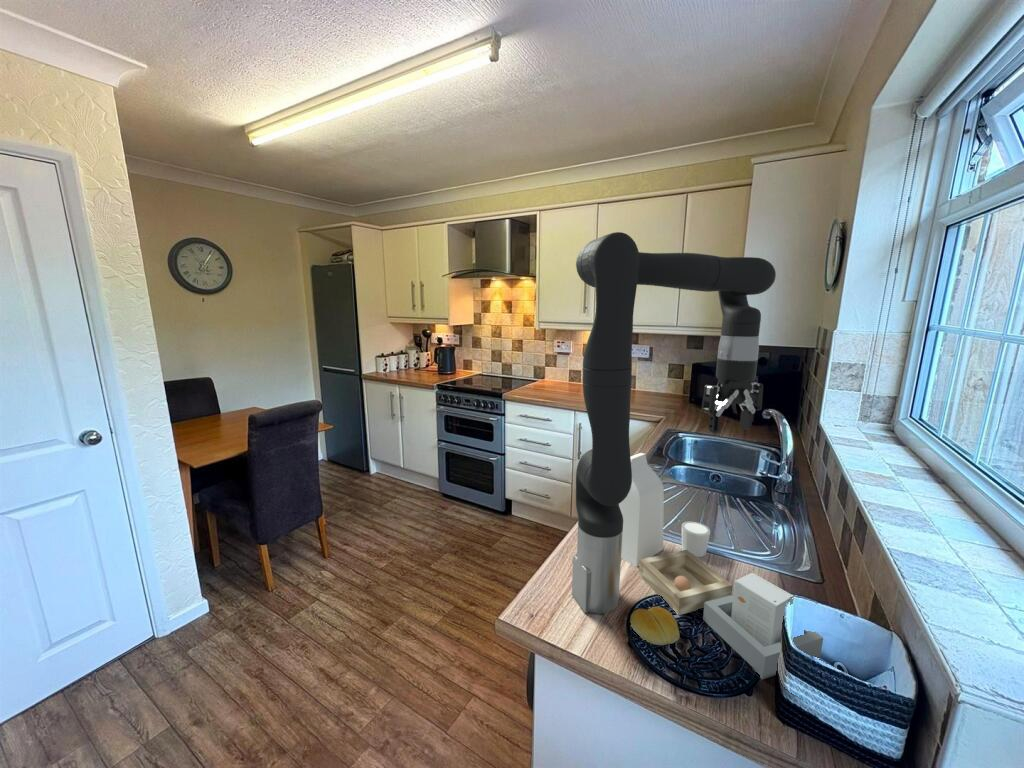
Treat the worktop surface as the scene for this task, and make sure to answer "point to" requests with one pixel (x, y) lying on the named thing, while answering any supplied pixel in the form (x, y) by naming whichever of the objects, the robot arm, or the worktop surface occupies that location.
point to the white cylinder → (695, 538)
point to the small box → (759, 608)
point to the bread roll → (655, 625)
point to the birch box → (684, 563)
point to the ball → (682, 583)
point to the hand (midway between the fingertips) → (729, 430)
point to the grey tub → (746, 645)
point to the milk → (642, 513)
